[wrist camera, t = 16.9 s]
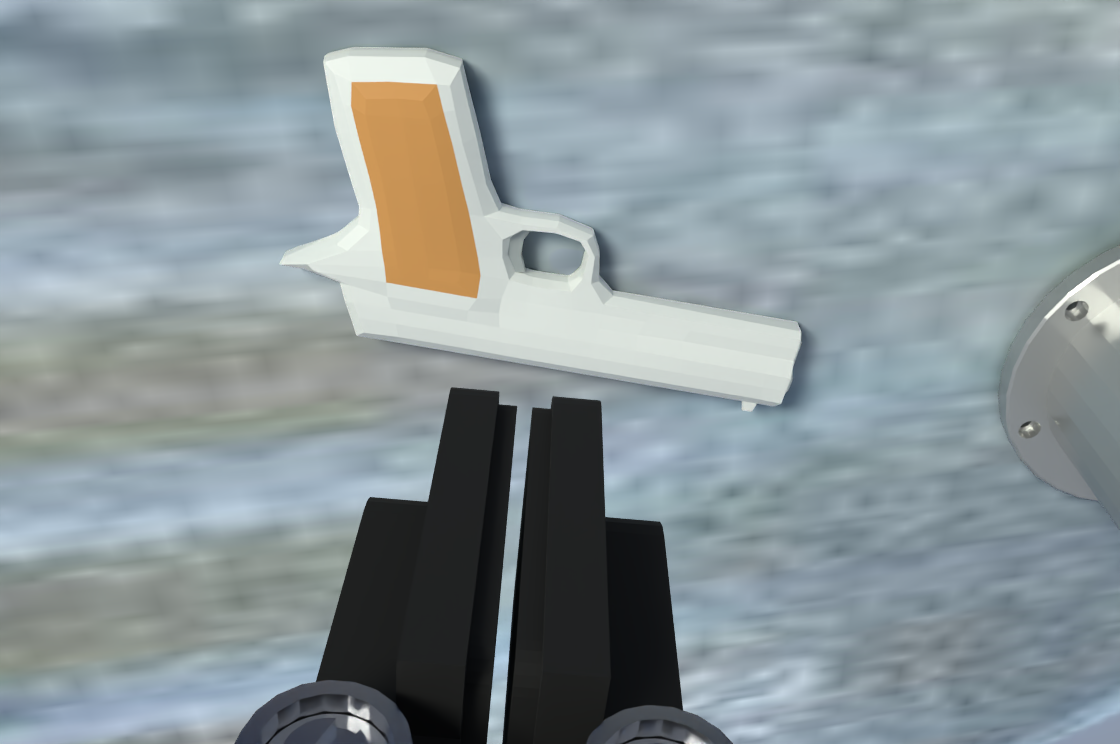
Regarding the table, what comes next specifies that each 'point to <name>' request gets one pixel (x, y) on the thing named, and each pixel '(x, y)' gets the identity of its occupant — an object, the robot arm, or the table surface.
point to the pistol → (501, 253)
